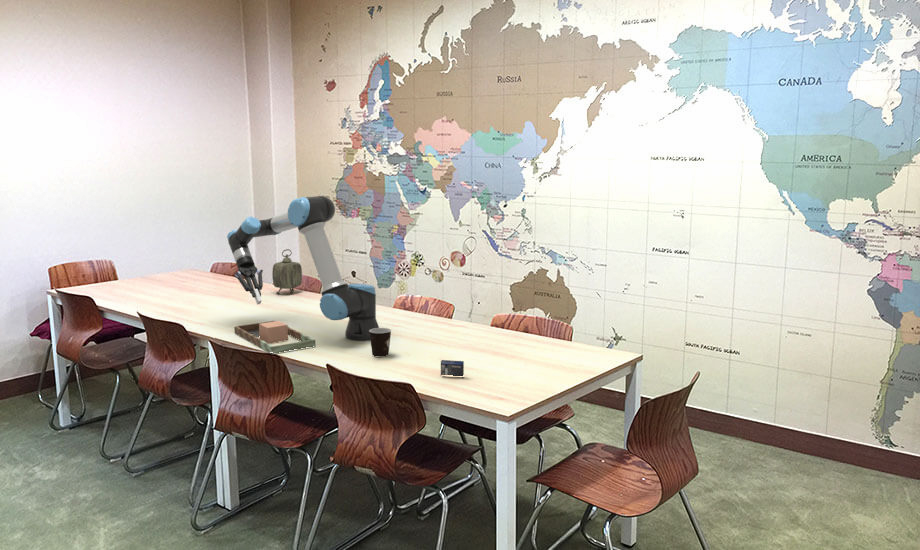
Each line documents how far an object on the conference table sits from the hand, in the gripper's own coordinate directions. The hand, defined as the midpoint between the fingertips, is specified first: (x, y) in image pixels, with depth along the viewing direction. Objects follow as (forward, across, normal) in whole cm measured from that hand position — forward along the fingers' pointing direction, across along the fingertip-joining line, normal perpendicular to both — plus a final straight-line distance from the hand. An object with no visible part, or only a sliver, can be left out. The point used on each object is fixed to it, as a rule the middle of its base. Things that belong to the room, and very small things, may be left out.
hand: (259, 302), depth 337 cm
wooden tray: (+20, 0, 0) cm, 20 cm away
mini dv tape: (+81, -32, +62) cm, 107 cm away
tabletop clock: (-43, -46, -63) cm, 89 cm away
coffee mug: (+53, -24, +34) cm, 67 cm away
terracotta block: (+20, 0, 0) cm, 20 cm away
